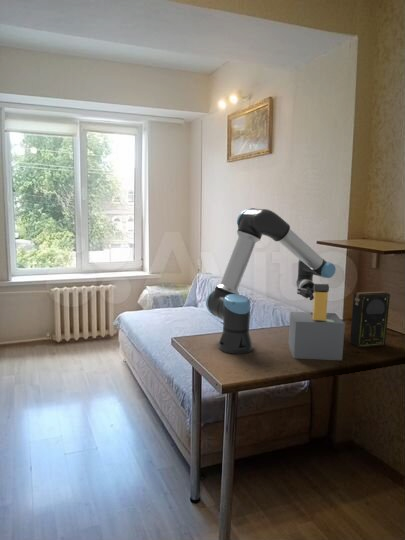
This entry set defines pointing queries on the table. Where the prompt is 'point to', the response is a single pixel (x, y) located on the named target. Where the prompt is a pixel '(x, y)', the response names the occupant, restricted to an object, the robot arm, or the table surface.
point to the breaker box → (316, 336)
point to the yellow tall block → (320, 301)
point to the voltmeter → (369, 319)
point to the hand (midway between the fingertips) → (317, 299)
